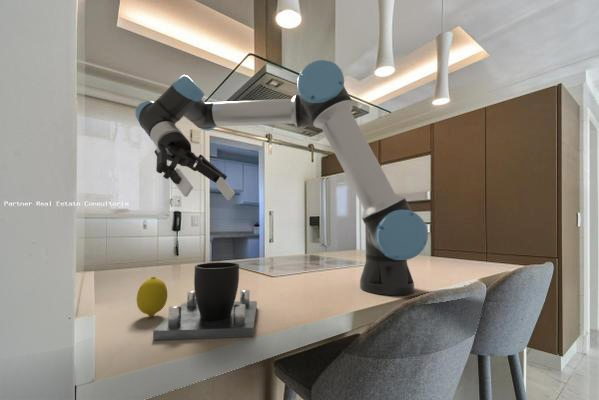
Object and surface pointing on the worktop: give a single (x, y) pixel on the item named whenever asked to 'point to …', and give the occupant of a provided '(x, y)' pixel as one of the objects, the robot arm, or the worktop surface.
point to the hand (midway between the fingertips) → (212, 194)
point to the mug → (216, 289)
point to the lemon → (152, 296)
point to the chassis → (191, 326)
